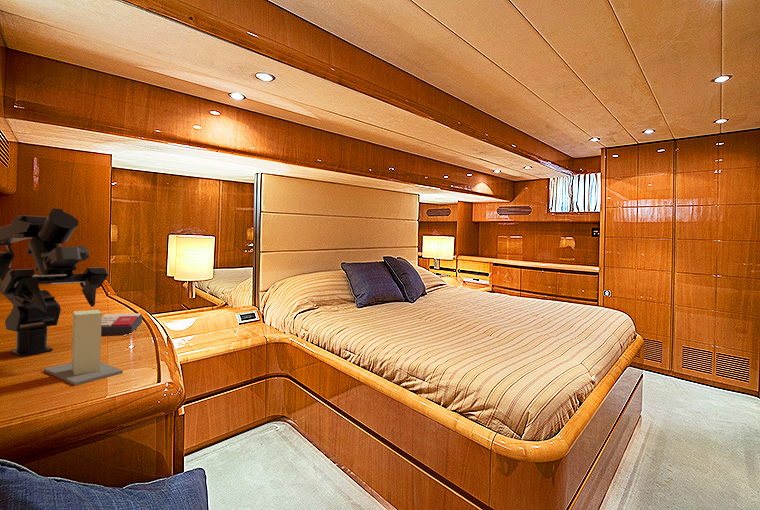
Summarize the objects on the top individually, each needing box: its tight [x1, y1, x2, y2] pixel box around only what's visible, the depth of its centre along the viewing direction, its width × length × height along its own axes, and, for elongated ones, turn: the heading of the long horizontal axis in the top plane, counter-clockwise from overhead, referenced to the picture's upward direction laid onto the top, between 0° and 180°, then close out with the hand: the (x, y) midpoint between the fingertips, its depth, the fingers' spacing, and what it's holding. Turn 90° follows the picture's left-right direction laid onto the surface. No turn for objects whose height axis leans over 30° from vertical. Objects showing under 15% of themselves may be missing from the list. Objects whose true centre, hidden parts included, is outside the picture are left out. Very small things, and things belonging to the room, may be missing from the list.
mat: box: [43, 361, 124, 386], centre depth 84 cm, size 14×9×1 cm, turn 62°
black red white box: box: [101, 312, 143, 336], centre depth 120 cm, size 11×4×15 cm
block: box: [71, 309, 103, 375], centre depth 83 cm, size 4×4×13 cm
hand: (70, 307), depth 87 cm, fingers open, 9 cm apart
